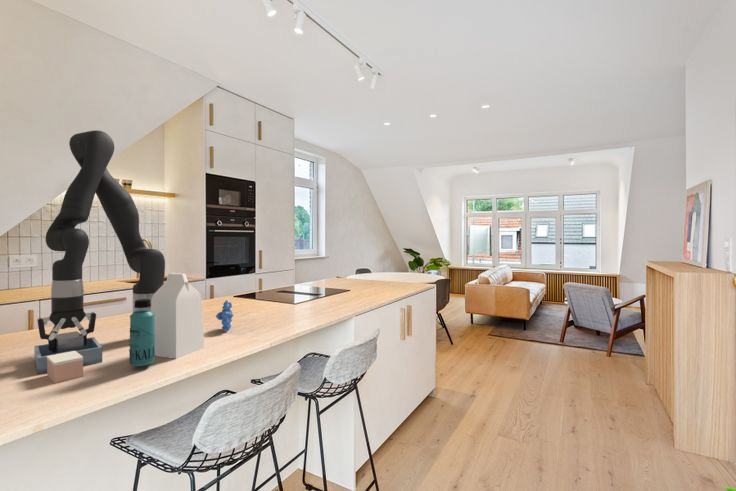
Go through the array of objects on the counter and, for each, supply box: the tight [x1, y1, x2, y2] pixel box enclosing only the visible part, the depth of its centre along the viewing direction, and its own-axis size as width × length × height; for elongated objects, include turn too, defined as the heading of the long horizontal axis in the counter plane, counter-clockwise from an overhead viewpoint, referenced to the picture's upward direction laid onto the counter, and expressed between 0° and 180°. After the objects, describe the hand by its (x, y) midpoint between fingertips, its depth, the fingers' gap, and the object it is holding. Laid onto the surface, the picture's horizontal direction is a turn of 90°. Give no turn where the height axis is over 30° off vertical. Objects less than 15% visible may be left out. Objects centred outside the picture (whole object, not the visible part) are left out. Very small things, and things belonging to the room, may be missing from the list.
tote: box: [33, 336, 103, 375], centre depth 112 cm, size 15×15×4 cm
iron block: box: [54, 330, 84, 354], centre depth 112 cm, size 6×8×5 cm
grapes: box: [215, 300, 234, 332], centre depth 150 cm, size 12×7×12 cm, turn 15°
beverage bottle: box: [128, 299, 156, 367], centre depth 107 cm, size 6×7×20 cm
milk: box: [151, 272, 205, 360], centre depth 122 cm, size 12×12×26 cm
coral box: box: [46, 351, 84, 384], centre depth 101 cm, size 6×8×6 cm
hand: (67, 349), depth 112 cm, fingers closed on iron block, 6 cm apart
